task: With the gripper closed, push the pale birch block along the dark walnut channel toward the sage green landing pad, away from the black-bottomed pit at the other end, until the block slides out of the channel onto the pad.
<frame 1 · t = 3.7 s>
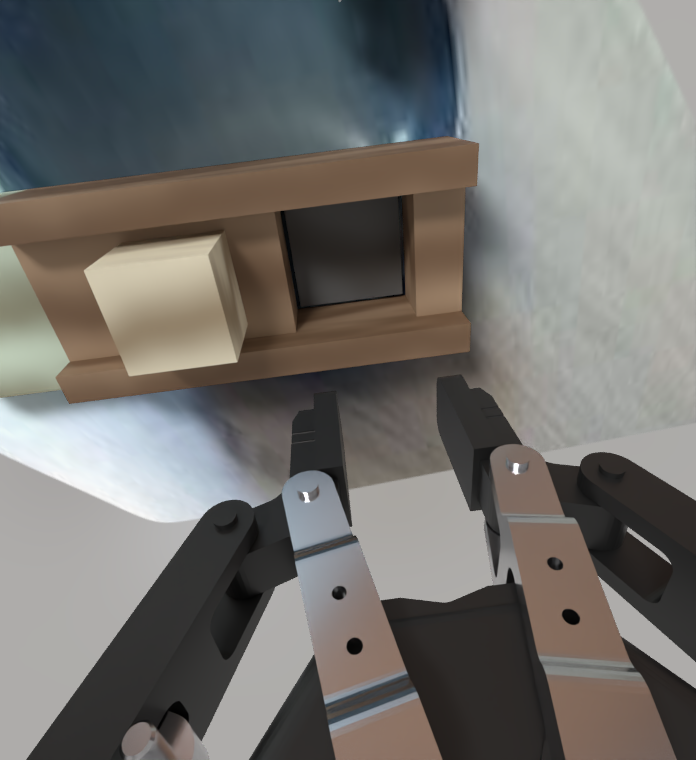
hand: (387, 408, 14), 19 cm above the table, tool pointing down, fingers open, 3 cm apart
birch block: (188, 286, 27), point 4 cm above the table, touching channel deck
channel deck: (186, 267, 31), on the table
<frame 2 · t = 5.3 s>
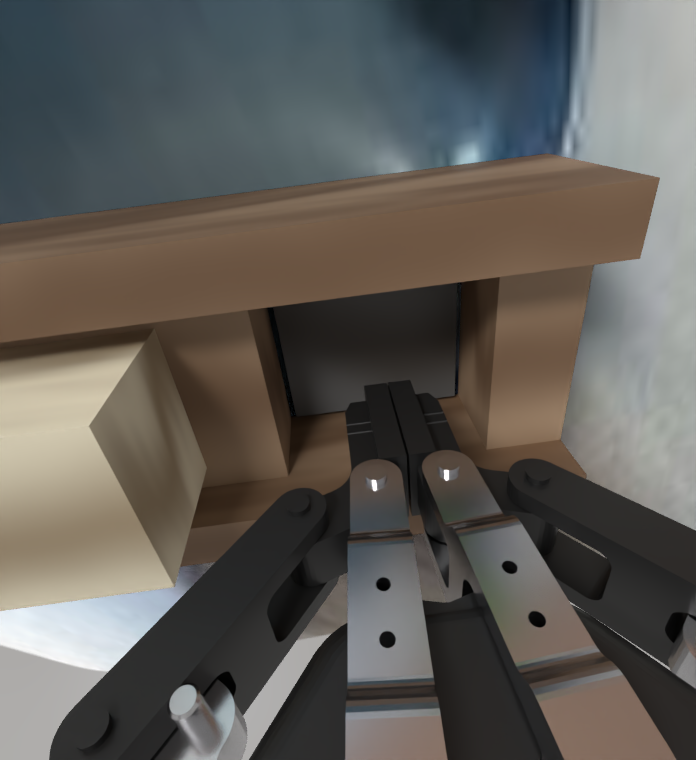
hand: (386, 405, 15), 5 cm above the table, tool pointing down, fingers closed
birch block: (98, 416, 16), point 4 cm above the table, touching channel deck
channel deck: (111, 363, 19), on the table
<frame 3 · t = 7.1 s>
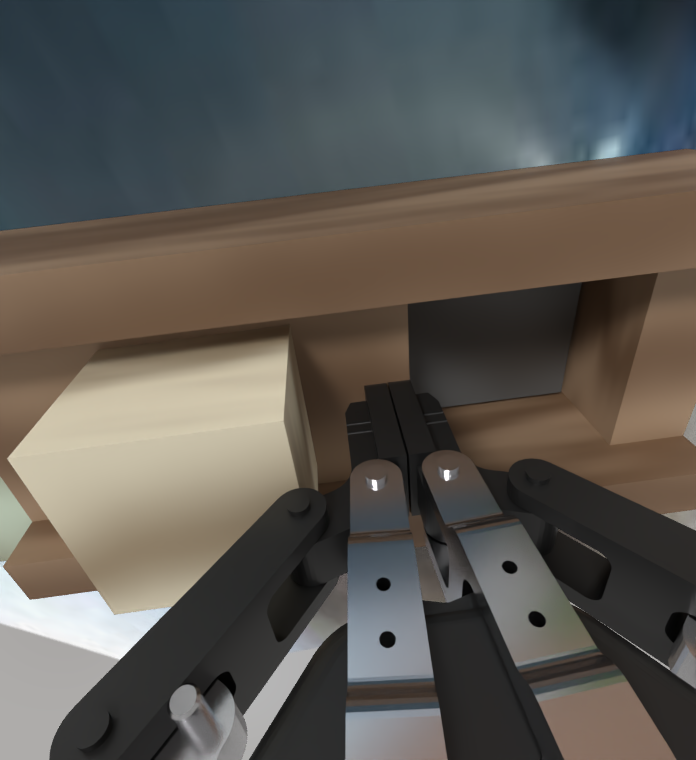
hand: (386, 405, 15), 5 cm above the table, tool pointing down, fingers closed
birch block: (219, 414, 15), point 4 cm above the table, touching gripper
channel deck: (226, 357, 19), on the table
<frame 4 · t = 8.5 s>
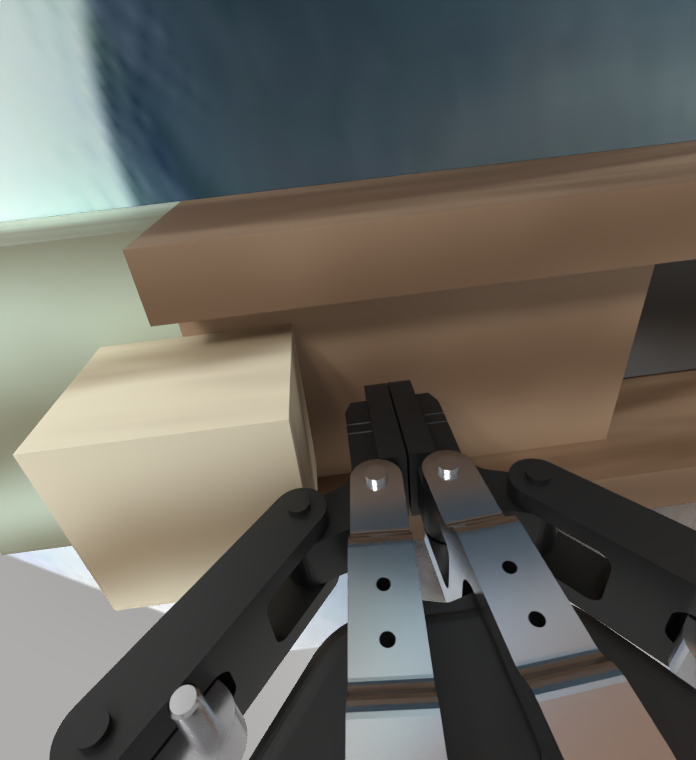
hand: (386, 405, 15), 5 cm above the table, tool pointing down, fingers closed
birch block: (220, 412, 16), point 4 cm above the table, touching channel deck, gripper
channel deck: (410, 327, 19), on the table
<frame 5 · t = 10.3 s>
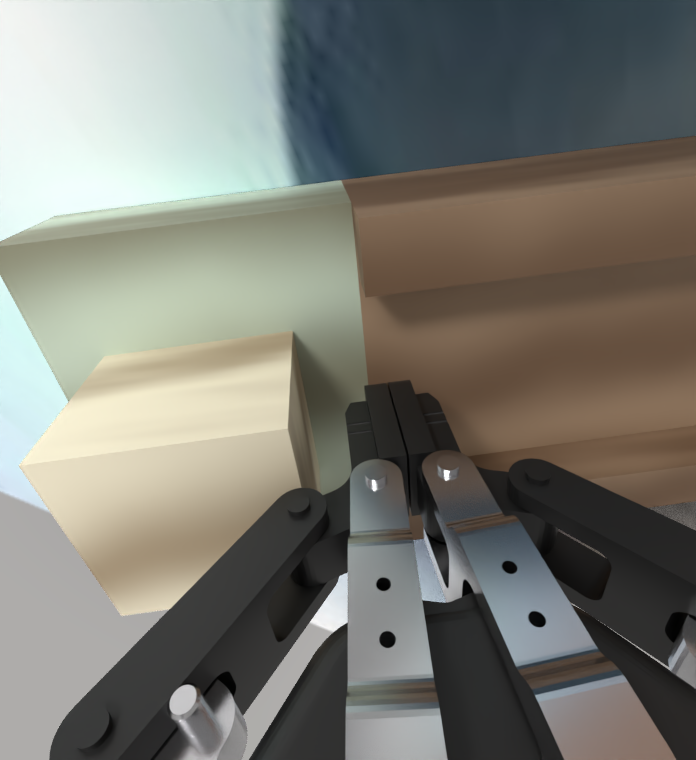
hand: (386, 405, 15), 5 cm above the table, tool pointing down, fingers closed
birch block: (223, 418, 16), point 4 cm above the table, touching channel deck, gripper
channel deck: (543, 309, 19), on the table
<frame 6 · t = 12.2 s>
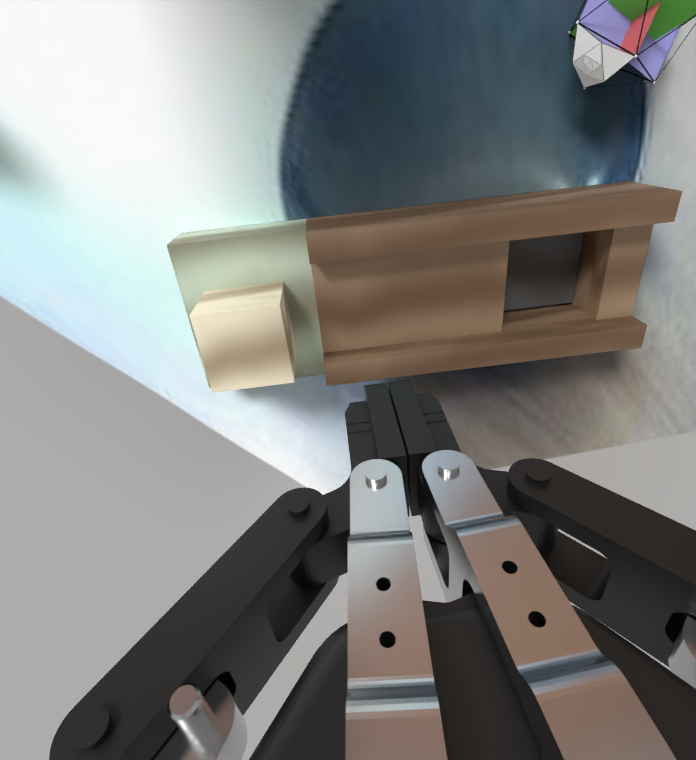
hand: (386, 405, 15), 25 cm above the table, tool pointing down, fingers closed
birch block: (252, 322, 35), point 4 cm above the table, touching channel deck
geometric puzzle: (601, 31, 31), on the table
channel deck: (408, 280, 39), on the table
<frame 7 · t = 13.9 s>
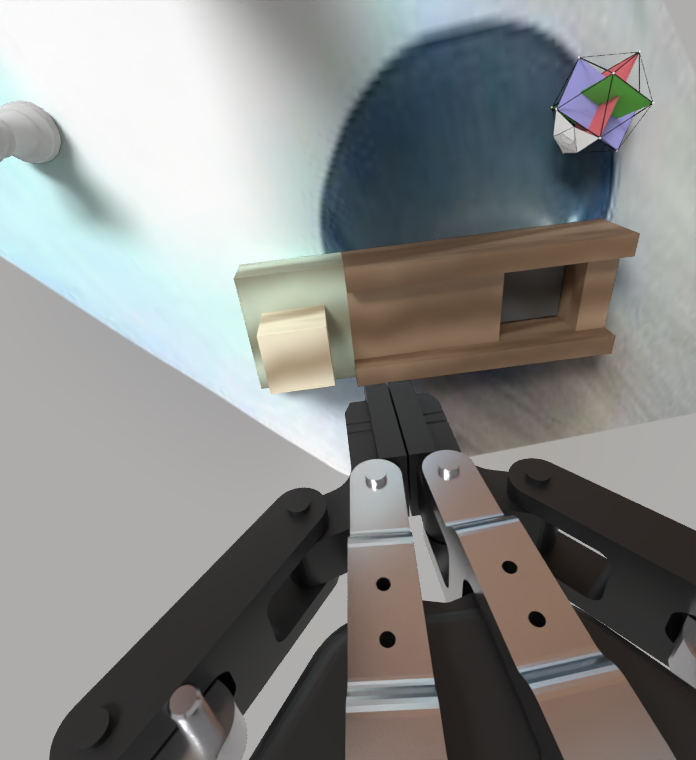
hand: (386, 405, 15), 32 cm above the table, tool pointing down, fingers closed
birch block: (298, 337, 44), point 4 cm above the table, touching channel deck
rook chess piece: (35, 132, 37), on the table
geometric puzzle: (577, 105, 39), on the table
channel deck: (422, 298, 47), on the table
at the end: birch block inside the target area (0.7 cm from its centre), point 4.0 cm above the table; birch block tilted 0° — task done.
